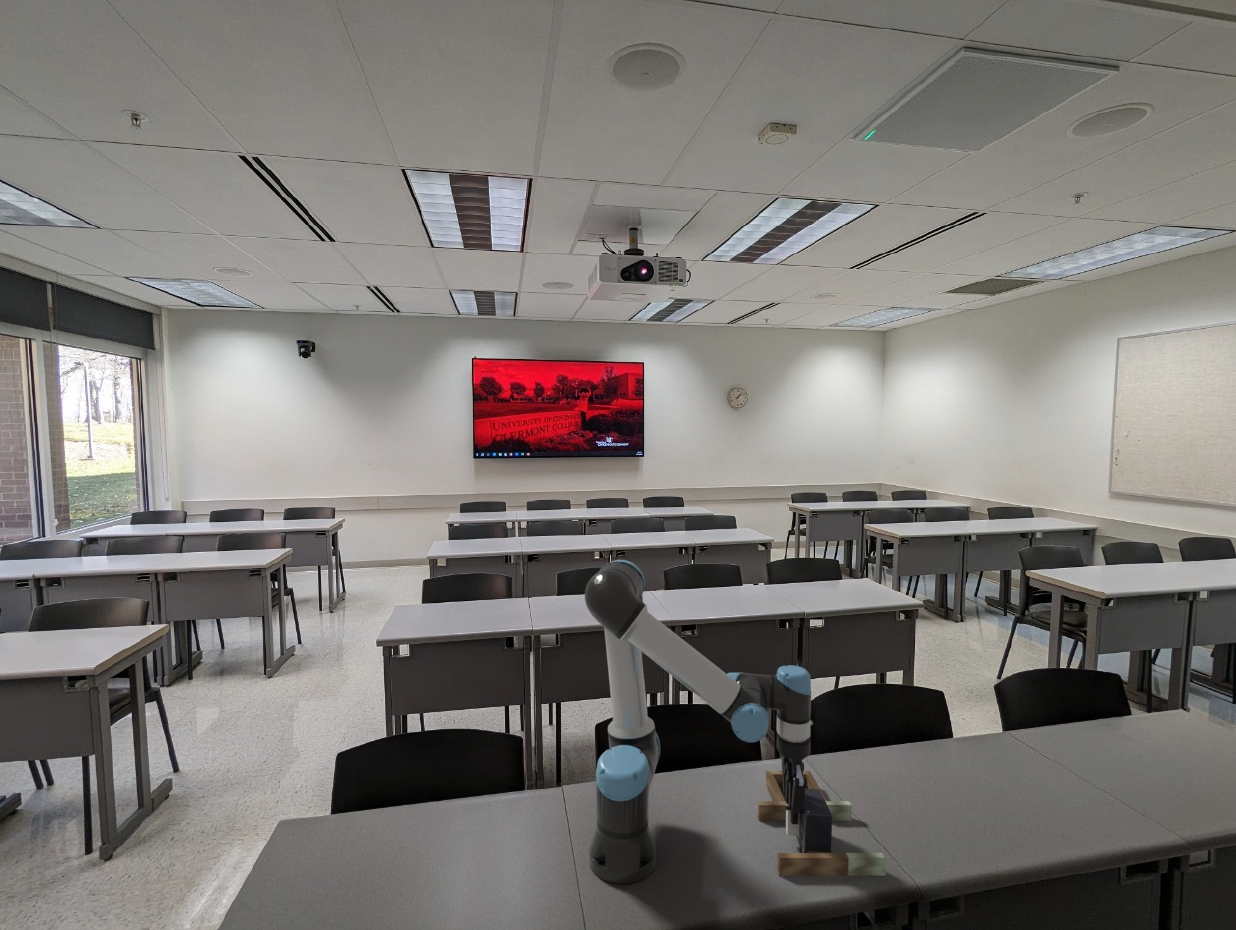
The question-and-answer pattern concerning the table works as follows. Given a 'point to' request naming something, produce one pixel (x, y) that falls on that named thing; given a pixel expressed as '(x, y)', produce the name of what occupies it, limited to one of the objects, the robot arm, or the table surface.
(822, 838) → the small box
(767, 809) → the wooden frame pieces
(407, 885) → the table surface
